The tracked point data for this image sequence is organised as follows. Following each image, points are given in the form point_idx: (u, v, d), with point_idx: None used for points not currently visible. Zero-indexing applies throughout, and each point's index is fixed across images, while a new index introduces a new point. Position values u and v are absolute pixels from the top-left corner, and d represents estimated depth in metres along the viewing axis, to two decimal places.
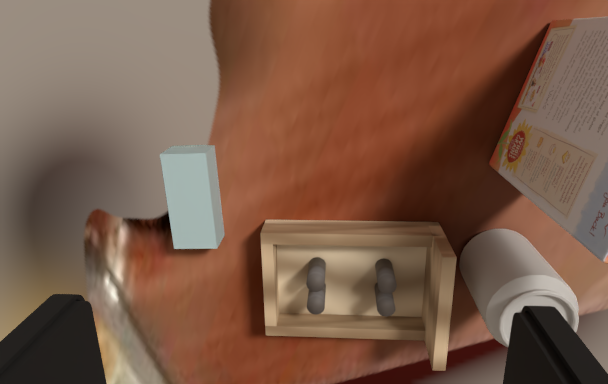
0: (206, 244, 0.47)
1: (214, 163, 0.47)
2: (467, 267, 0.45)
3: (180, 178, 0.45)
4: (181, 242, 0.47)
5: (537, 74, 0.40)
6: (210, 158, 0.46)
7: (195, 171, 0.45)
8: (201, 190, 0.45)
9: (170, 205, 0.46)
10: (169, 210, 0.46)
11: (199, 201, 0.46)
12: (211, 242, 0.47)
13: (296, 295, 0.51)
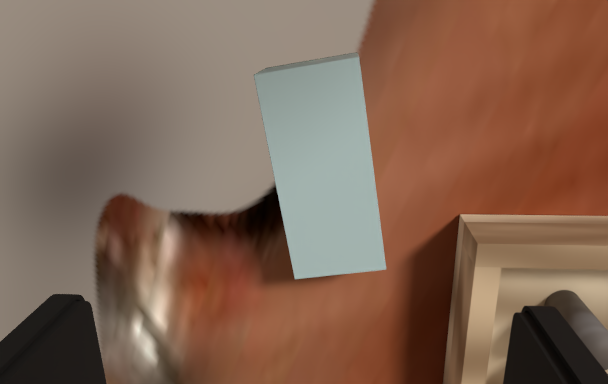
0: (363, 263, 0.22)
1: None
2: None
3: (302, 125, 0.20)
4: (309, 264, 0.23)
5: None
6: None
7: (336, 105, 0.20)
8: (351, 146, 0.20)
9: (283, 188, 0.21)
10: (281, 199, 0.22)
11: (347, 171, 0.21)
12: (374, 258, 0.22)
13: None
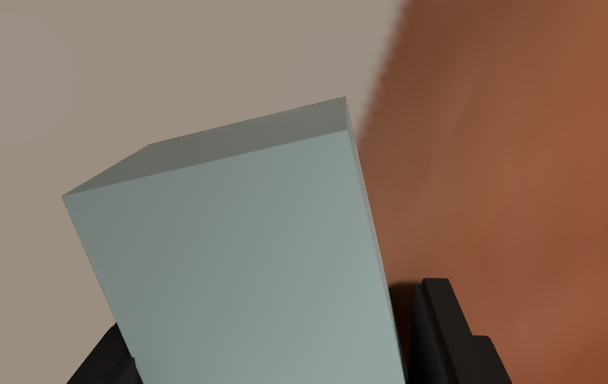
0: None
1: (364, 187, 0.09)
2: None
3: (212, 312, 0.08)
4: None
5: None
6: (357, 163, 0.08)
7: (295, 261, 0.07)
8: (347, 356, 0.08)
9: None
10: None
11: None
12: None
13: None
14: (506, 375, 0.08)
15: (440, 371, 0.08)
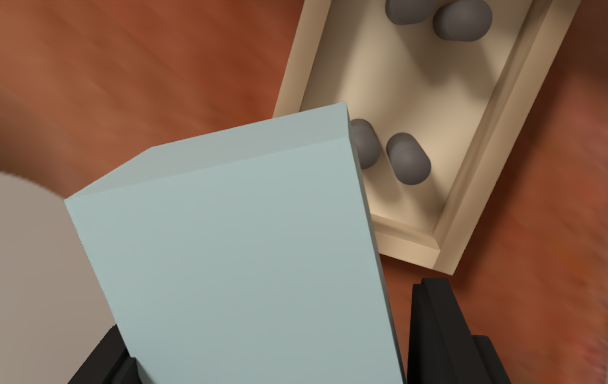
0: None
1: None
2: None
3: (213, 316, 0.08)
4: None
5: None
6: (358, 168, 0.08)
7: (296, 266, 0.07)
8: (346, 361, 0.08)
9: None
10: None
11: None
12: None
13: (408, 192, 0.27)
14: (505, 375, 0.08)
15: (439, 371, 0.08)
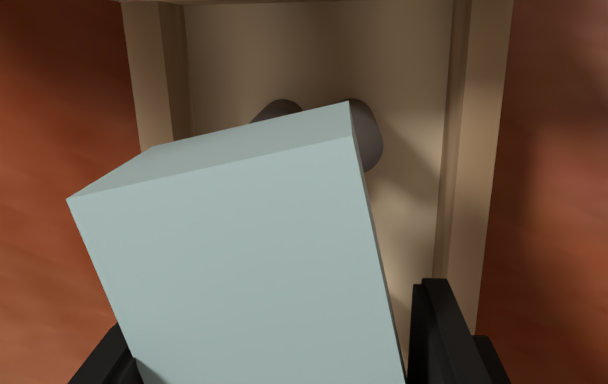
0: None
1: None
2: None
3: (215, 315, 0.08)
4: None
5: None
6: (360, 168, 0.08)
7: (299, 265, 0.07)
8: (348, 361, 0.08)
9: None
10: None
11: None
12: None
13: None
14: (505, 375, 0.08)
15: (439, 371, 0.08)
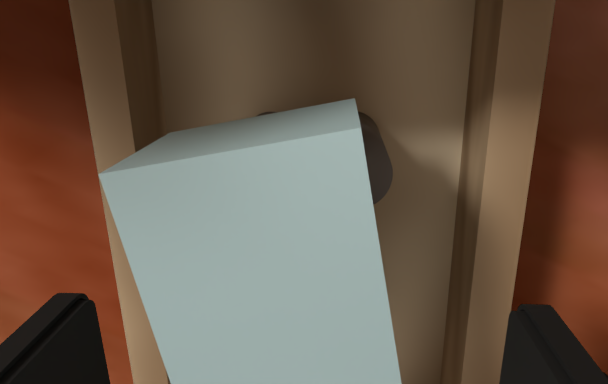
0: None
1: None
2: None
3: (228, 286, 0.08)
4: None
5: None
6: None
7: (306, 243, 0.08)
8: (347, 332, 0.09)
9: None
10: None
11: (338, 383, 0.09)
12: None
13: None
14: None
15: None
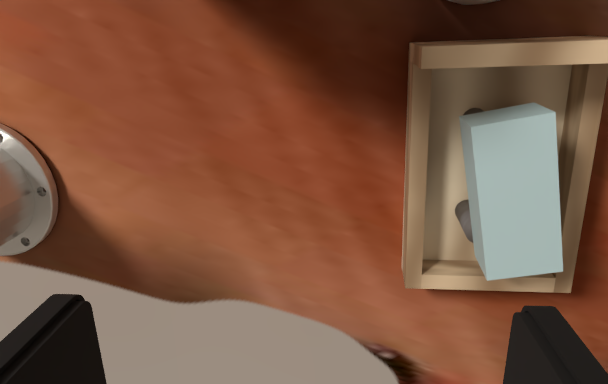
0: (544, 267, 0.29)
1: None
2: (470, 2, 0.29)
3: (505, 163, 0.27)
4: (500, 268, 0.29)
5: None
6: None
7: (534, 147, 0.26)
8: (543, 178, 0.27)
9: (484, 210, 0.28)
10: (482, 219, 0.28)
11: (538, 196, 0.27)
12: (553, 262, 0.28)
13: None
14: None
15: None
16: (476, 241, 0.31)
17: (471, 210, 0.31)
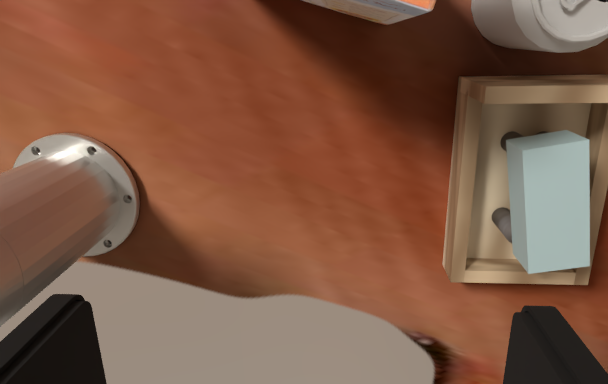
0: (575, 262, 0.35)
1: None
2: (517, 48, 0.35)
3: (548, 179, 0.34)
4: (539, 264, 0.36)
5: None
6: None
7: (571, 167, 0.33)
8: (577, 191, 0.34)
9: (529, 217, 0.35)
10: (527, 224, 0.35)
11: (572, 206, 0.34)
12: (582, 259, 0.35)
13: None
14: None
15: None
16: (517, 242, 0.38)
17: (513, 216, 0.38)
